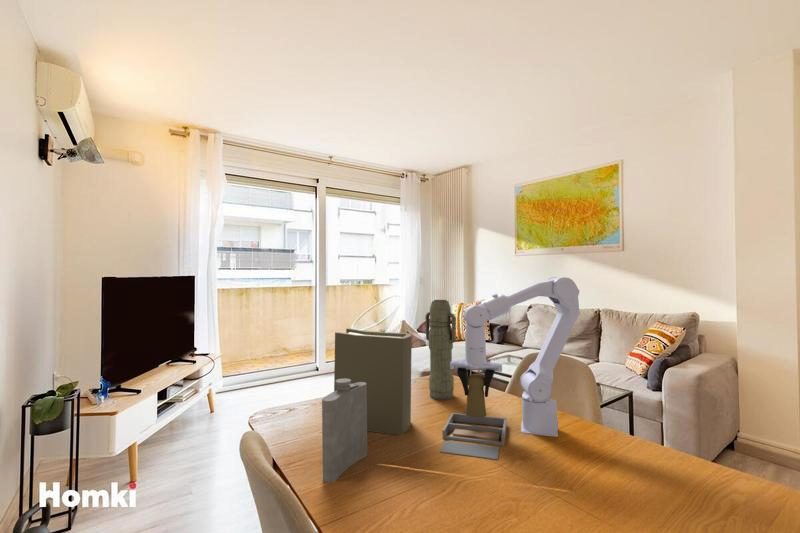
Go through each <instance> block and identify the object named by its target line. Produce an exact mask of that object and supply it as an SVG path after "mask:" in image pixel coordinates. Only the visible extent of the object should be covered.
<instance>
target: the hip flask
mask: <svg viewBox="0 0 800 533" xmlns="http://www.w3.org/2000/svg"><path fill="white" fill-rule="evenodd" d="M336 385H337V388H336V389H337V390H336V391H334V390H333V392H331V393H329V394H327V395H326V396H324V397H323V398H321V417H322V418H321V422H322V423H321V431H322V433H321V436H322V437H321V438H322V441H321V442H322V450H321V451H322V481H323V482H324V483H327V484H330V483H334V482H336V481H337V480H338V479H339V478H340V476H342V474H343V473H345V472H346V471H347V470H348V469H349V468H350V467H351V466H353V465H354V464H355V463H358V461H360V460H362V459H363V458H365V457H366V456H368V431H367V384H366V383H365V382H357V383H354V384H351V380H350V379H346V378H344V379H337V380H336Z"/></svg>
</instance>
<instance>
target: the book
mask: <svg viewBox="0 0 800 533" xmlns="http://www.w3.org/2000/svg"><path fill="white" fill-rule="evenodd" d="M345 331H346V332H340V331H335V332H334V370H333V371H334V372H333V373H334V374H333V375H334V376H333V378H334V380H333V392H334V391H336V390H337V389H336V388H337V385H336V380H337V379H344V378H346V379H350V380H351V384H354V383H357V382H365V383H366V384H367V432H374V433H375V432H376V433H383V434H388V435H394V436H398V435H403V434H405V433H407V432H408V431H409V429H410V428H411V426H412V424H411V423H412V422H411V420H412V416H411V415H412V414H411V413H412V406H411V405H412V398H411V397H412V338H413V336H412V335H413V334H412V333H410V332H409V333H407V332H405V333H404V332H389V331H388V332H386V331H384V332H383V331H369V330H368V331H367V330H361V329H356V328H350V327H347V328H345Z"/></svg>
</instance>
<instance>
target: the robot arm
mask: <svg viewBox="0 0 800 533" xmlns="http://www.w3.org/2000/svg"><path fill="white" fill-rule="evenodd" d="M580 292H581V291H580V289H579V288H578V286H577V284H576V283H575V281H574V280H573V279H571V278H570V277H566V276H565V277H556V276H552V277H549V278H547V279H542V280H539V281H537V282H536V281H535V282H534V283H531V284H529V285H528V286H525V287H523V288H521V289H519V290H517V291H514V292H512V293H511V294H509V295H505V294H502V293H499V294H498V293H494V294H492V295H491V297H489V298H488V299H485V300H482V301H481V300H479V301H477V302H476V304H477V305H475V304H473V305H472V304H471V305H469V306H468V307H466V308H465V310H464V313H463V314H462V317H463V319H464V322H465V324H464V326H465V331H464V341H465V344H464V345H465V360H452V361H451V362H450V369H452V370H455V369H457V371H456V373H457V376H458V377H459V380H460V382H461V385H462V388H463V392H464V396H466V397H467V395H468V389H469V385H468V384H467V378H468V376H469V372H468V371H469V370H472V371H474V370H475V371H484V378H485V386H484V397H485V398H488V396H489V390H490V389H489V388H490V386H491V382H492V379H493V377H494V375H495V372H498V373H502V372H503V363H500V362H499V363H498V362H492V361H491V362H489V361H487V354H486V353H487V351H486V350H487V349H486V348H487V346H486V342H487V341H486V328H485V327H486V326H485V324H486V323H487V321H491V320H494V319H496V318H499V317H501V316H503V315H507V314H509V313H510V311H511V309H512V307H513V306H516V305H518V304H521V303H524V302H527V301H528V300H529V301H530V300H531V299H534V298H537V297H545V298H548V299H549V300H550V301H551V302H552V304H553V305H554V307H555V309H556V312H557V314H556V316H555V318H554V320H553V322H552V325H551V326H550V329H549V330H548V333H547V335H546V336H545V339H544V341H543V344H542V345H541V347H540V349H539V352H538V355H537V356H536V359H535V360H534V362H532V363H531V364H530V365H529V367H528V369H526V371H524V372H523V373H522V374H521V376H520V378H519V385H520V387H521V388H522V389H523V392H522V394H521V408H522V409H521V411H522V414H521V416H522V418H521V419H522V421H521V423H520V424H521V425H520V433H522V434H528V435H537V436H548V437H558V436H559V435H558V428H559V421H558V404H557V400H556V399H552V398H550V396H551V395H552V384H553V382H554V369H555V367H556V365H557V363H558V361H559V359H560V357H561V354H562V352H563V350H564V348H565V346H566V344H567V341H568V339H569V337H570V335H571V333H572V330H573V329H574V326H575V324H576V323H577V321H578V318H579V317H580V316H579V315H580V305H579V304H580V303H579V295H580Z"/></svg>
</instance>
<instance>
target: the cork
mask: <svg viewBox="0 0 800 533" xmlns="http://www.w3.org/2000/svg"><path fill="white" fill-rule="evenodd" d="M467 384H468V395H467V396H466V401H465V402H466V403H465V408H464V414H466V415H468V416H471V417H478V418H480V417H485V416H487V410H486V409H487V408H486V399H485V398H486V397H485V375H482V374H479V373H477V374H476V373H473V374H472V373H471V374H468V378H467Z"/></svg>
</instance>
